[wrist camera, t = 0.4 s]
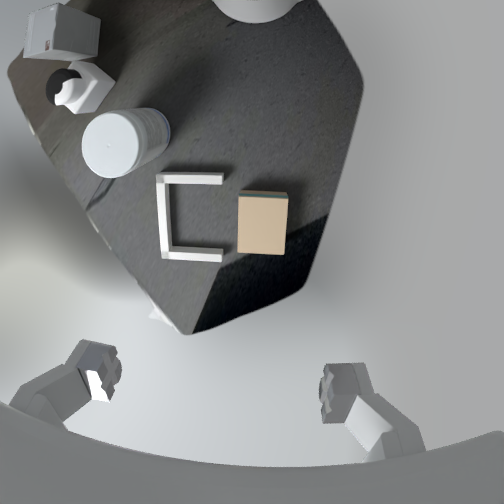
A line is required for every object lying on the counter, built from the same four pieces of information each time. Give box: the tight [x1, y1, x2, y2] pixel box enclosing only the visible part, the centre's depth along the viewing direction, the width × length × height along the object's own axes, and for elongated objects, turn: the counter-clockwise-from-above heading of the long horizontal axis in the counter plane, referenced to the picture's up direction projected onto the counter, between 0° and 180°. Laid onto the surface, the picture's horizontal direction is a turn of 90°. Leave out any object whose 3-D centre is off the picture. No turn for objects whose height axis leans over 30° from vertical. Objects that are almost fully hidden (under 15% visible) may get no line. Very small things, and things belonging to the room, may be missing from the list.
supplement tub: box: [82, 108, 170, 178], centre depth 43 cm, size 10×10×15 cm
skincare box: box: [23, 3, 101, 61], centre depth 34 cm, size 8×7×16 cm
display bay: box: [156, 172, 224, 262], centre depth 55 cm, size 16×12×2 cm
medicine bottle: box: [46, 60, 116, 114], centre depth 40 cm, size 7×7×12 cm
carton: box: [238, 190, 288, 255], centre depth 54 cm, size 10×8×4 cm
